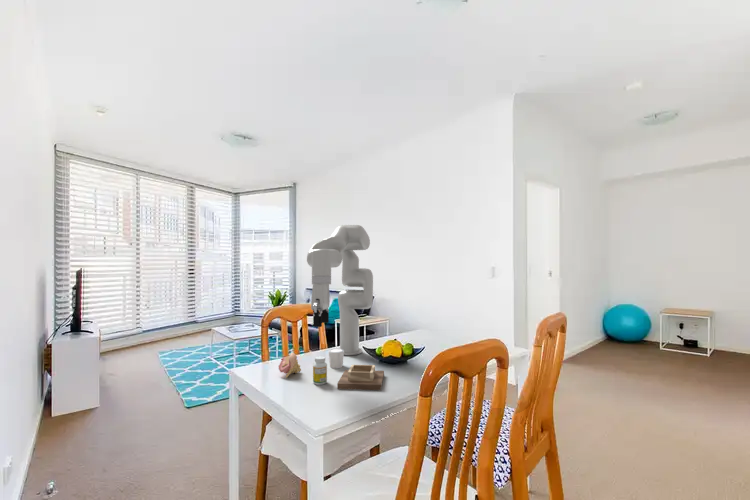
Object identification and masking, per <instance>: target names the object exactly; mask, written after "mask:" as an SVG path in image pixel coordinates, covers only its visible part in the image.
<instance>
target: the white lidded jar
mask: <svg viewBox="0 0 750 500" xmlns="http://www.w3.org/2000/svg"><path fill="white" fill-rule="evenodd" d="M344 356H345V355H344V350H343V349H340V348H331V349H329V350H328V359H329V367H330V368H331V369H340V368H342V367H343V365H344V364H343V363H344Z"/></svg>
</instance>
